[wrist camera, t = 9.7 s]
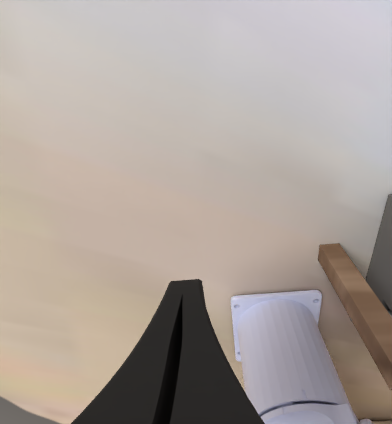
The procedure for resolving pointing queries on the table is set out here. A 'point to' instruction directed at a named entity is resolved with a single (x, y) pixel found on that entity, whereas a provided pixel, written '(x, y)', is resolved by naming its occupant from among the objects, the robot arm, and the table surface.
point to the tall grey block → (383, 260)
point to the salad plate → (382, 422)
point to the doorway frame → (360, 306)
